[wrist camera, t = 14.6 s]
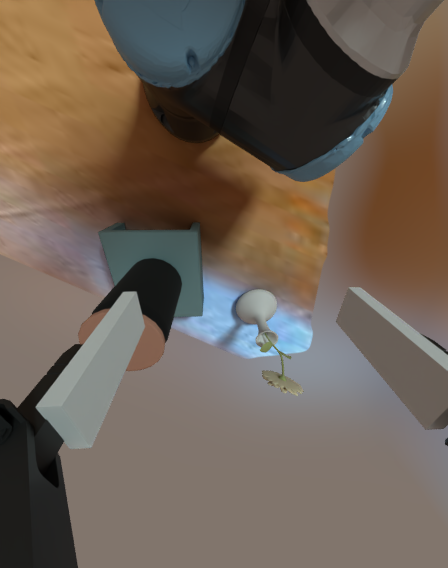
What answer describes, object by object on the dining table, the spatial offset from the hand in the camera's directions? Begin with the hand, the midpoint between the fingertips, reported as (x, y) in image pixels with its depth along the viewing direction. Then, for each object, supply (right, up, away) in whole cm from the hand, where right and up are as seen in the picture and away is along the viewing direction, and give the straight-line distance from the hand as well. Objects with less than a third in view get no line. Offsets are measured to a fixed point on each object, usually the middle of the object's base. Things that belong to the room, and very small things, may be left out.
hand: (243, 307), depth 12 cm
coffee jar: (-15, +2, +29) cm, 33 cm away
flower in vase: (+8, -4, +43) cm, 44 cm away
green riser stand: (-16, +6, +35) cm, 39 cm away
